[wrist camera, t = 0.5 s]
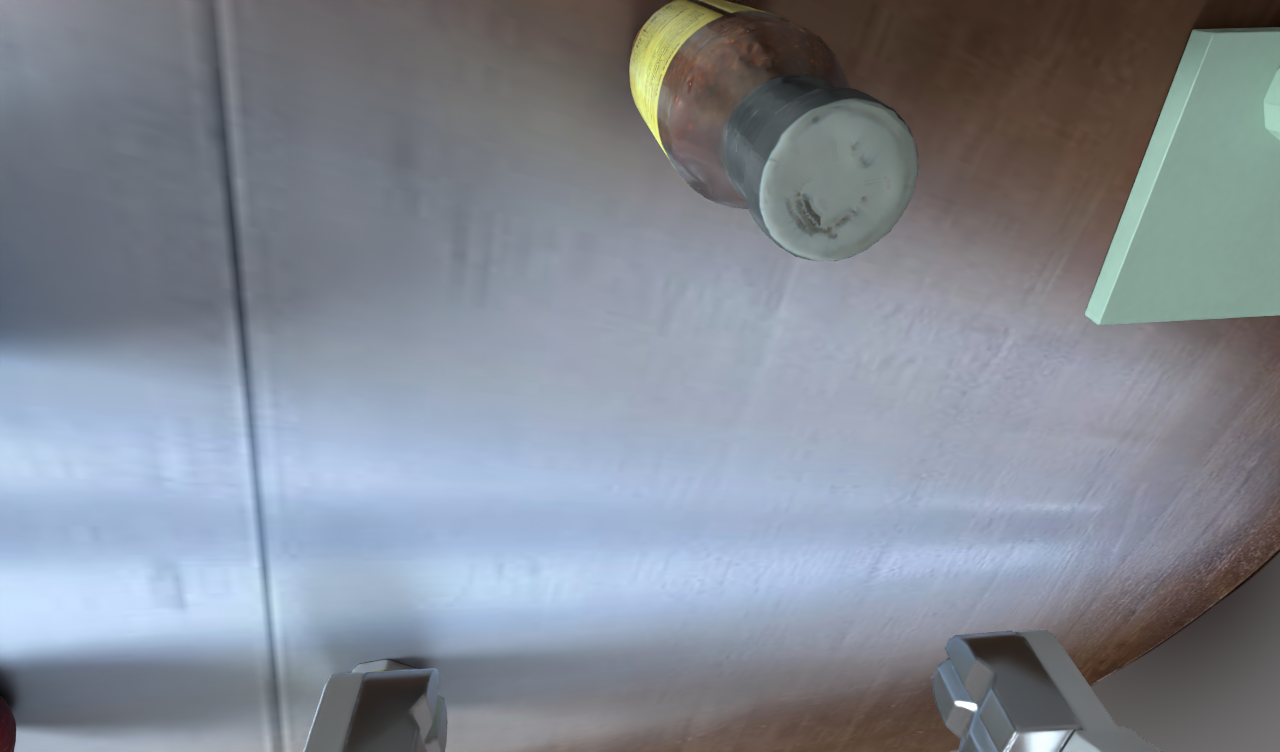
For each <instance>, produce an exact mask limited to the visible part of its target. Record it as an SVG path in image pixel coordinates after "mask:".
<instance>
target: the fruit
mask: <svg viewBox="0 0 1280 752" xmlns="http://www.w3.org/2000/svg"><path fill="white" fill-rule="evenodd" d="M15 741H16V722H15V719H14V716H13V713H12V711H11V710H10V708H9V706H8V704H7V703H6V702H5V700H4V699H3V698H2V697H1V696H0V752H14V747H15Z"/></svg>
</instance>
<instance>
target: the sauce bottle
mask: <svg viewBox="0 0 1280 752" xmlns="http://www.w3.org/2000/svg"><path fill="white" fill-rule="evenodd" d="M629 75H630V87H631V92H632V95H633V98H634V101H635V104H636V106H637V108H638V110H639V112H640V114H641V115H642V117H643V119H644V120H645V122H646V124H647V125H648V127H649V128H650V130H651V131H652V133H653V135H654V136H655V138H656V140H657V141H658V143H659V144H660V146H661V148H662V149H663V151H664V152H665V154H666V155H667V157H668V159H669V160H670V162H671V163H672V165H673V166H674V168H675V169H676V171H677V172H678V173H679V175H680V176H681V177H682V178H683V179H684V181H685V182H686V183H687V184H689V185H690V186H691V187H692V188H693V189H694V190H695V191H697V192H698V193H699V194H701V195H702V196H704V197H705V198H707V199H709V200H711V201H713V202H715V203H718V204H721V205H724V206H728V207H733V208H741V209H749V211H750V213H751V215H752V217H753V219H754V221H755V222H756V223H757V225H758V226H759V227H760V228H761V230H762V231H763V232H764V233H765V234H766V235H767V236H768V237H769V238H770V239H772V240H773V241H774V242H775V243H776V244H777V245H778V246H779V247H781V248H783V249H784V250H786V251H788V252H789V253H791V254H792V255H794V256H796V257H800V258H804V259H808V260H814V261H838V260H841V259H845V258H850V257H852V256H854V255H857V254H859V253H861V252H863V251H865V250H867V249H868V248H869V247H871V246H872V245H873V244H875V243H876V242H878V241H879V240H880V239H881V238H882V237H883V236H885V235H886V234H887V233H888V232H890V231H891V229H892V228H893V226H894V225H895V224H896V222H897V221H898V219H899V218H900V217H901V215H902V214H903V212H904V210H905V209H906V207H907V205H908V203H909V201H910V199H911V197H912V195H913V193H914V189H915V183H916V179H917V176H918V153H917V147H916V144H915V141H914V138H913V136H912V134H911V131H910V129H909V127H908V126H907V124H906V123H905V121H904V120H903V119H902V118H901V117H900V116H899V114H898V113H897V112H896V111H895V110H894V109H892V108H890V107H889V106H887V105H885V104H884V103H882V102H880V101H879V100H877V99H875V98H873V97H871V96H869V95H868V94H866V93H863V92H861V91H858V90H856V89H851V88H850V87H849V84H848V82H847V79H846V76H845V74H844V71H843V68H842V66H841V63H840V61H839V60H838V58H837V56H836V54H835V53H833V51H832V50H831V49H830V48H829V46H828V45H827V44H826V43H825V42H824V41H823V40H822V39H821V38H820V37H819V36H816V35H814V34H813V33H811V32H810V31H808V30H806V29H805V28H802V27H800V26H798V25H795V24H792V23H790V22H789V21H787V20H786V19H784V18H782V17H780V16H777V15H774V14H771V13H769V12H765V11H761V10H757V9H754V8H750V7H747V6H743V5H739V4H736V3H732V2H729V1H725V0H673V1H671V2H669V3H667V4H666V5H664V6H662V7H661V8H660V9H659V10H657V11H656V12H654V13H653V15H652V16H651V17H650V18H649V19H648V20H647V22H646V23H645V24H644V25H643V26H642V28H641V29H640V30H639V31H638V33H637V35H636V38H635V39H634V41H633V48H632V52H631V58H630V68H629Z"/></svg>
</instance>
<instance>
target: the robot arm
mask: <svg viewBox="0 0 1280 752" xmlns="http://www.w3.org/2000/svg"><path fill="white" fill-rule="evenodd" d="M945 650H946V652H947V654H948V656H949V658H948V659H946V660H945V661H943V662H942V663H941V664H939V665H938V666H937V669H936V672H935V675H934V678H933V688H934V698H935V701H936V705H937V708H938V711H939V713H940V716H941V718H942V720H943V722H944V724H945V726H946V727H947V728H948V729H950V730H951V731H952V732H953V733H954V734H956V735H957V736H958V737H959V738H960V739H961V742H960V747H959V752H1162V751H1161V750H1159V749H1158V748H1157V747H1155V746H1154V745H1152V744H1151V743H1149V742H1148V741H1147V740H1145V739H1144V738H1142V737H1141V736H1139V735H1138V734H1137V733H1135V732H1134V731H1132V730H1131V729H1130V728H1128V727H1118V726H1117V725H1116V724H1115V722H1114V721H1113V719H1112V718H1111V716H1110V715H1109V713H1108V712H1107V710H1106V709H1105V708H1104V706H1103V705H1102V704H1101V702H1100V700H1099V699H1098V697H1097V696H1096V695H1095V693H1094V692H1093V690H1092V689H1091V687H1090V686H1089V684H1088V683H1087V682H1086V680H1085V679H1084V677H1083V676H1082V674H1081V673H1080V671H1079V670H1078V669H1077V667H1076V666H1075V664H1074V663H1073V661H1072V660H1071V658H1070V657H1069V655H1068V654H1067V653H1066V651H1065V650H1064V648H1063V647H1062V645H1061V644H1060V642H1059V641H1058V640H1057V638H1056V637H1055V636H1054V635H1053V634H1051V633H1050V632H1049V631H1048V630H1041V629H1038V630H1025V631H1001V632H989V633H977V634H965V635H955V636H954V637H952V638H950V639H949V641H948V643H947V645H946V647H945ZM439 685H440V679H439V675H438V672H437V669H436V668H433V669H415V670H397V671H379V672H353V673H339V674H332V675H331V677H330V678H329V680H328V682H327V683H326V685H325V686H324V689H323V693H322V696H321V699H320V702H319V705H318V708H317V711H316V714H315V717H314V720H313V723H312V726H311V729H310V732H309V735H308V738H307V741H306V744H305V747H304V750H303V752H445V748H446V738H447V711H446V704H445V700H444V698H443V697H441V696H440V695H438V691H439Z"/></svg>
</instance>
